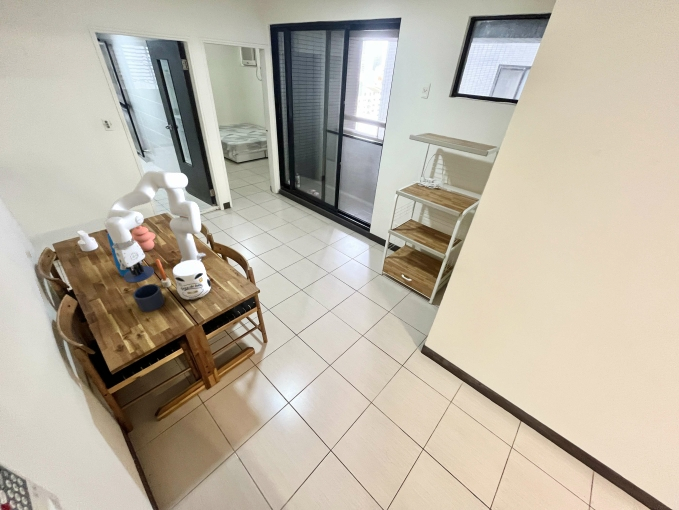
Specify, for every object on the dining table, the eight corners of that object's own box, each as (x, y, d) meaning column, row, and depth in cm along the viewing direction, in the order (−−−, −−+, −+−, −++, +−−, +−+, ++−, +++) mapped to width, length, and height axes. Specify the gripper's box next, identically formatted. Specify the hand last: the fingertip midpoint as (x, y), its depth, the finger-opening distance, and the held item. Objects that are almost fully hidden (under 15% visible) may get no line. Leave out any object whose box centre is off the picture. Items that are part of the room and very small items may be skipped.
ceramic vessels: (118, 237, 202) (107, 214, 192) (150, 228, 215) (142, 206, 205) (132, 257, 183) (121, 233, 172) (166, 246, 196) (158, 223, 185)
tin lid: (141, 265, 146) (136, 255, 143) (160, 271, 143) (156, 261, 140) (118, 280, 136) (112, 269, 132) (138, 286, 133) (133, 276, 129)
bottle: (126, 277, 166) (105, 234, 149) (117, 274, 168) (96, 231, 151) (137, 271, 172) (118, 228, 155) (129, 268, 174) (109, 225, 157)
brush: (171, 282, 165) (161, 256, 155) (171, 286, 162) (161, 260, 151) (163, 283, 164) (152, 258, 153) (162, 288, 160) (152, 262, 150)
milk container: (191, 307, 149) (182, 281, 139) (173, 294, 157) (163, 269, 147) (218, 289, 162) (212, 265, 152) (200, 279, 169) (192, 255, 159)
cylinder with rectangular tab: (100, 247, 191) (92, 232, 184) (85, 252, 185) (76, 237, 178) (94, 243, 195) (86, 228, 188) (79, 248, 188) (70, 233, 182)
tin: (153, 294, 156) (147, 281, 151) (169, 299, 153) (164, 287, 148) (133, 308, 147) (127, 295, 141) (151, 314, 144) (145, 301, 139)
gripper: (113, 253, 121) (129, 284, 131) (145, 236, 134) (157, 265, 144) (100, 249, 123) (117, 280, 133) (133, 232, 135) (146, 262, 146)
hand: (138, 272), depth 139 cm, fingers closed on tin lid, 2 cm apart
